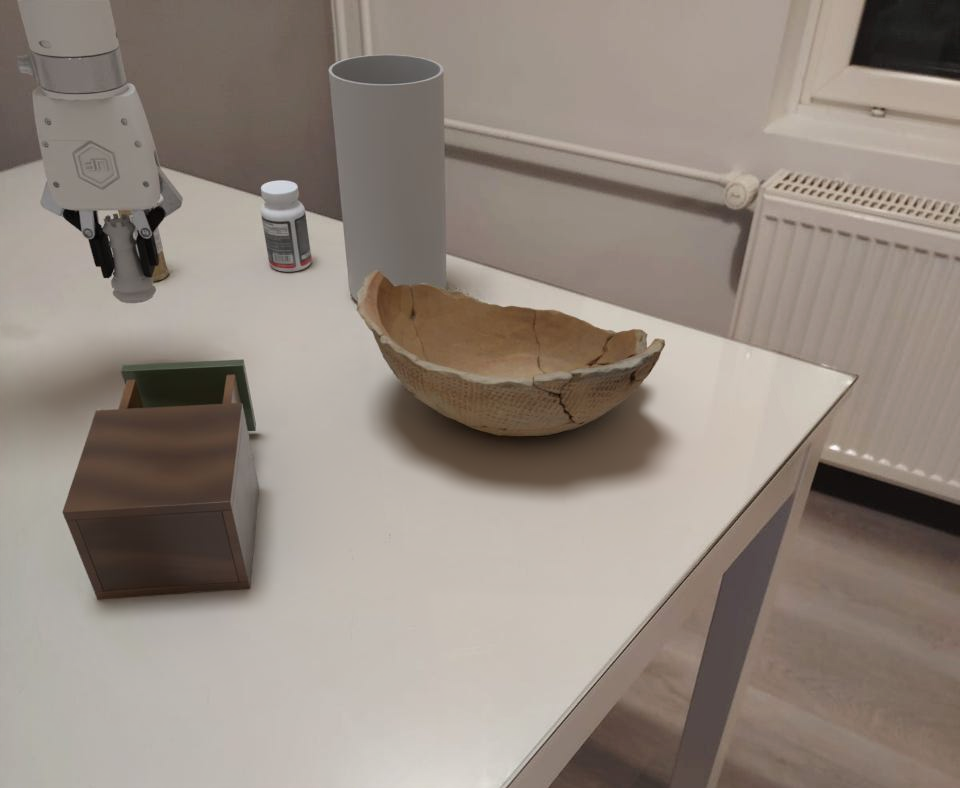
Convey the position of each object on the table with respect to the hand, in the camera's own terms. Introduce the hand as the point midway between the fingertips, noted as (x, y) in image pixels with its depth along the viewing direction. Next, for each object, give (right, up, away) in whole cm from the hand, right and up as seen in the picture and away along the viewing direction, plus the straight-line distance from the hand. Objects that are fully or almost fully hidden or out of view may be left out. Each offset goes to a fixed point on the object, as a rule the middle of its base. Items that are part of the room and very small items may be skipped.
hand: (129, 270), depth 94 cm
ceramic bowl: (+40, -14, +3) cm, 42 cm away
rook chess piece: (0, -2, +2) cm, 3 cm away
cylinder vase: (+26, +6, +22) cm, 35 cm away
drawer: (+9, -20, -6) cm, 23 cm away
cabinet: (+10, -30, -14) cm, 34 cm away
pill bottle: (+11, +12, +27) cm, 32 cm away
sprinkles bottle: (-6, +9, +24) cm, 27 cm away
